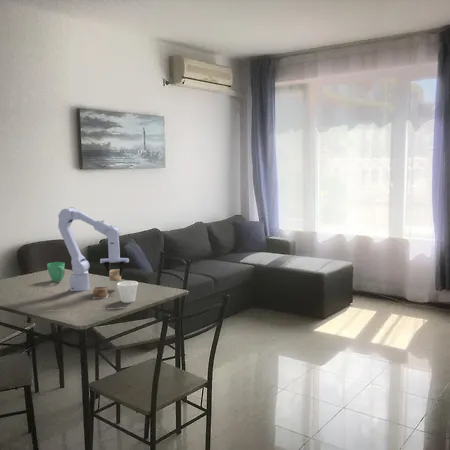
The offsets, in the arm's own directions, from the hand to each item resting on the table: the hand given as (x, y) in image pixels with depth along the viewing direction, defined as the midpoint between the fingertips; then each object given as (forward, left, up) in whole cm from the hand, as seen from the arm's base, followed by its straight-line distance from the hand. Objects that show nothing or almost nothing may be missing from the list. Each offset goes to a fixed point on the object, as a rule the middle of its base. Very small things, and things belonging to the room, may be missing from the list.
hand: (115, 276), depth 267 cm
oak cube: (0, 0, -2) cm, 2 cm away
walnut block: (-5, -14, -7) cm, 16 cm away
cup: (+10, -24, -8) cm, 27 cm away
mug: (-37, +25, -8) cm, 45 cm away
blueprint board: (-2, -11, -8) cm, 13 cm away
